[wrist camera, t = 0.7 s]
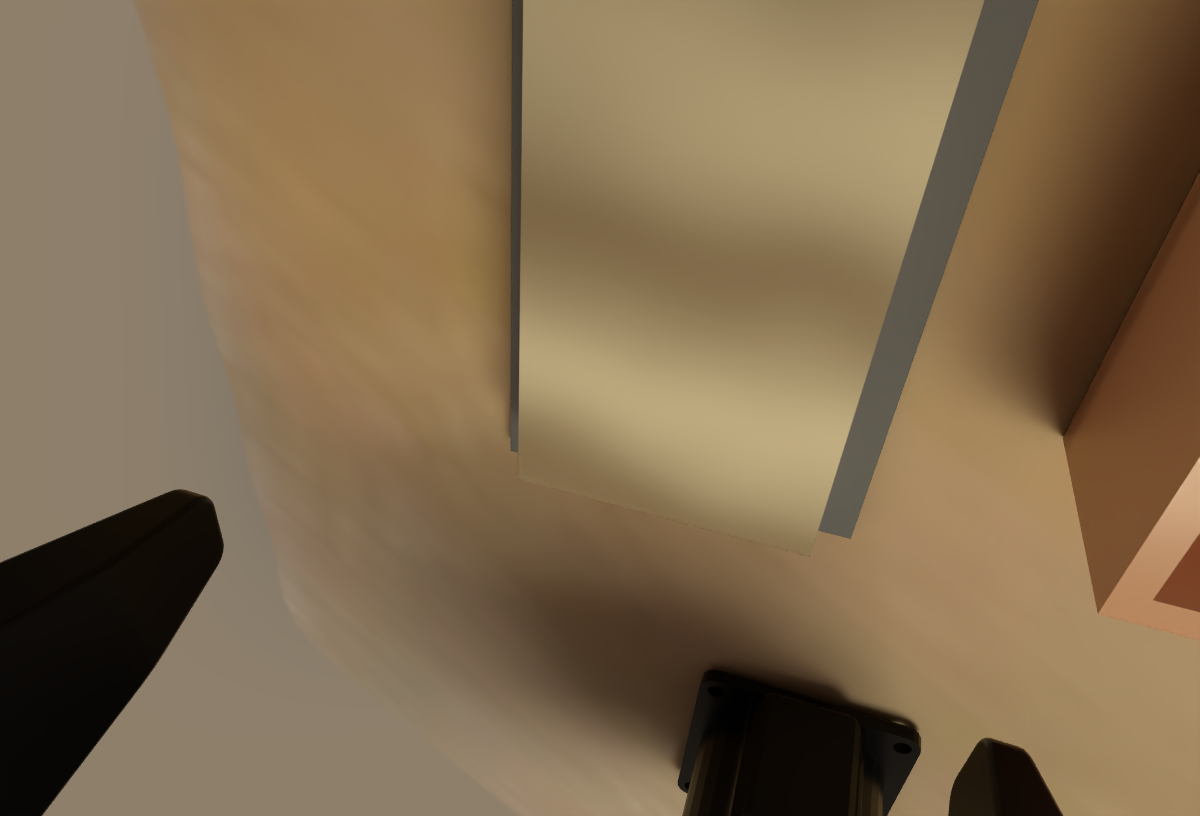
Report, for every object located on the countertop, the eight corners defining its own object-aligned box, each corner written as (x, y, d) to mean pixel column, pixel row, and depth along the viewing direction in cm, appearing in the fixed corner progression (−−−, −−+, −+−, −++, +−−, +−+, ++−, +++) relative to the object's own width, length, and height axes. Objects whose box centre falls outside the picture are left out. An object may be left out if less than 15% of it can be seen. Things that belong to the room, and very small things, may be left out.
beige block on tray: (818, 498, 21) (809, 556, 19) (546, 430, 22) (517, 479, 21) (988, -58, 13) (995, -37, 12) (566, -108, 15) (524, -95, 13)
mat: (851, 527, 21) (850, 538, 21) (516, 441, 23) (510, 450, 23) (1079, -128, 13) (1082, -125, 13) (521, -185, 15) (512, -184, 14)
